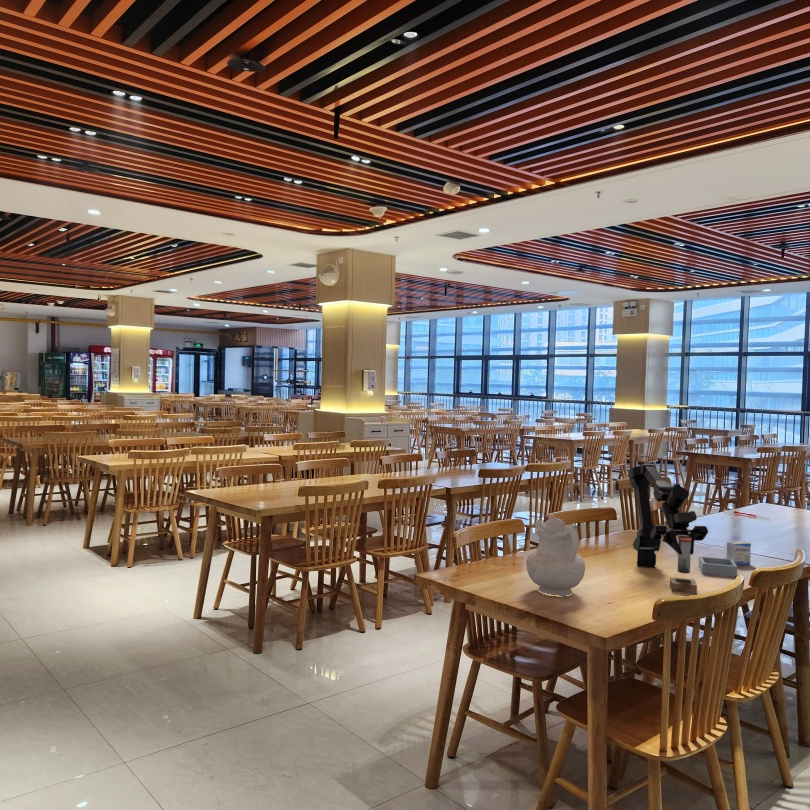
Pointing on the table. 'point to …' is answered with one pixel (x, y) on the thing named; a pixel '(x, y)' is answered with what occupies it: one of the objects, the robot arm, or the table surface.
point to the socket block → (683, 585)
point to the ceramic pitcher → (556, 558)
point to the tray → (717, 566)
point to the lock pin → (684, 554)
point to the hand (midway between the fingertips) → (686, 553)
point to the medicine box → (739, 552)
